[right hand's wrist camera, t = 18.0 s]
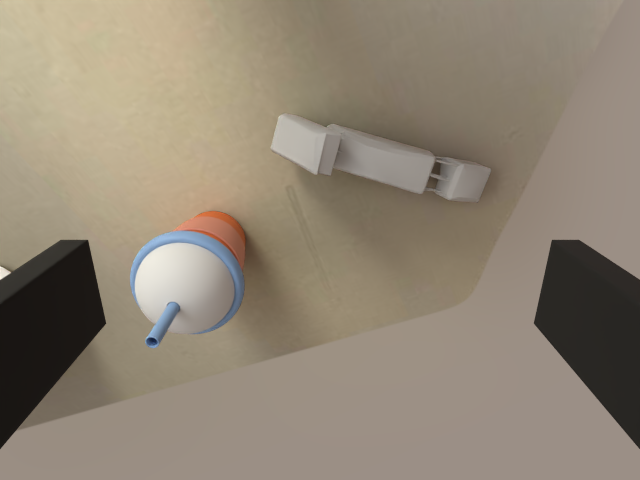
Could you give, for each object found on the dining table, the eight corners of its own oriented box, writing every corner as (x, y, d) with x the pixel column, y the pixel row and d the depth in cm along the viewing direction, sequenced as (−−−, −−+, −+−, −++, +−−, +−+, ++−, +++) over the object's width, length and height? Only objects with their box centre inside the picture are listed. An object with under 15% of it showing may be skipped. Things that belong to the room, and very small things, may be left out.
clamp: (269, 149, 40) (268, 166, 34) (278, 108, 39) (278, 119, 32) (462, 194, 44) (493, 218, 38) (476, 159, 42) (510, 177, 36)
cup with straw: (263, 277, 46) (231, 396, 29) (179, 280, 46) (98, 401, 29) (255, 194, 42) (213, 275, 26) (164, 198, 42) (62, 281, 26)
